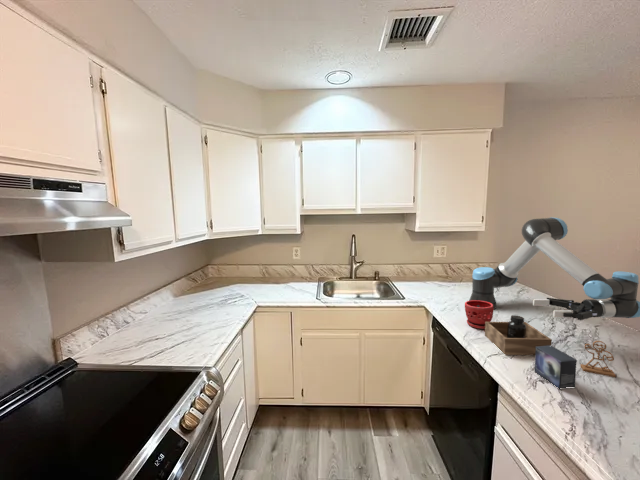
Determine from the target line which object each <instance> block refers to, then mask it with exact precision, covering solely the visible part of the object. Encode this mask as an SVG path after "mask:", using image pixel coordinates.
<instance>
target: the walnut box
mask: <svg viewBox="0 0 640 480" xmlns="http://www.w3.org/2000/svg"><path fill="white" fill-rule="evenodd" d="M508 322H509V321H491V322H485V329H484V336H485V338H487V340H489V341H490V342H491V343H492V344H493V343H494V344H495V345H496V346H497V347H498V348H499V349H500V350H501V351H502V352H503V353H504V354H506V355H505V356H509V355H510V356H535V351H536V347H538V346H547V345H551V346H552V340H553V339H551V338H550V337H549V336H547V335H546V334H544V333H542V331H540V330H538V329H536V328H535V327H534V326H532V325H530V324H529V323H527V322H526V321H524V324H525V325H526V338H507V329H508ZM494 344H493V345H494ZM495 345H494V346H495ZM496 346H495V347H496ZM497 347H496V348H497ZM498 348H497V349H498ZM499 349H498V350H499ZM500 350H499V351H500ZM501 351H500V352H501ZM502 352H501V353H502ZM503 353H502V354H503ZM504 354H503V355H504Z"/></svg>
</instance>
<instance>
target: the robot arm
mask: <svg viewBox="0 0 640 480" xmlns="http://www.w3.org/2000/svg"><path fill="white" fill-rule="evenodd" d="M568 231H569V230H568V225H567V223H566V222H565V221H564V220H563V219H561V218H559V217H545V218H544V217H542V218H532V219H529V220H528V221H526V222H524V224H523V225H522V228H521V235H522V238H523V239H524V241H523V243H521V245H519V247H517V249H516V250H515V251H514V252H513V253H512V254H511V255H510V256H509V258H507V260H506V261H505V262H500V263H499V264H497V266H496V267H495V268H492V267H490V266H484V267H476V268H475V269H473V271H472V277H471V278H472V285H471V286H472V291H471V295H470V298H469V299H468V301H471V300H479V301H486V302H489V303H491V304H493V310H495V309H497V307H498V303H497V300H496V298H495V289H497V288H499V289H500V288H508V287H511V286H514V285H515V284H516V283H517V282H518V277H519V272H520V271H521V270H522V269H523V268H524V267H525V266H526V265H527V264H528V263H530V261H531V260H532V259H533V258H534V257H535V256H536V255H537V254H539V252H542V254H544V255H545V256H547V257H548V258H549V259H550V260H551V261H553V262H554V263H555V264H556V265H558V266H559V267H560V268H561V269H562V270H564V272H566V273H567V274H568V275H570V277H572V278H573V279H575V280H576V281H577V282H578V283H579V284H580V285H582V286H583V291H584V294H585V295H586V296H587V297H588V298H589V299H583V300H582V301H581V302H579V301H574V300H573V299H561V298H553V297H546V299H535V298H534V299H533V300H532V306H535V307H536V306H542V307H544V306H545V307H549V306H553V307H558V308H559V307H560V308H563V309H564V308H565V309H566V310H560V309H559V310H553V311H552V312H553V314H552V318H567V319H568V318H569V319H570V318H573V319H577V320H578V321H585V320H587V319H591V318H602V319H606V318H621V319H622V318H625V319H636V318H640V301H639V300H638V289H639V284H640V283H639V275H638V274H637V273H635V272H631V271H629V272H628V271H618V270H617V271H614V272H613V273H612V276H611V278H606V277H604V276H603V275H602V274H600V273H599V272H597V271H596V270H595V269H594V268H592V267H591V266H590V265H588V264H587V263H586V262H584V261H583V260H582V259H580V258H579V257H578V256H577V255H575V254H574V253H573V252H571V251H570V250H569V249H568V248H567V247H565V246H564V245H563V244H561V243H559V241H558V240H562V239H564V238H565V237H566V236H567V234H568ZM590 298H591V299H590ZM473 307H475V306H473ZM477 307H480V306H479V305H477ZM482 308H484V307H482Z"/></svg>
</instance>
